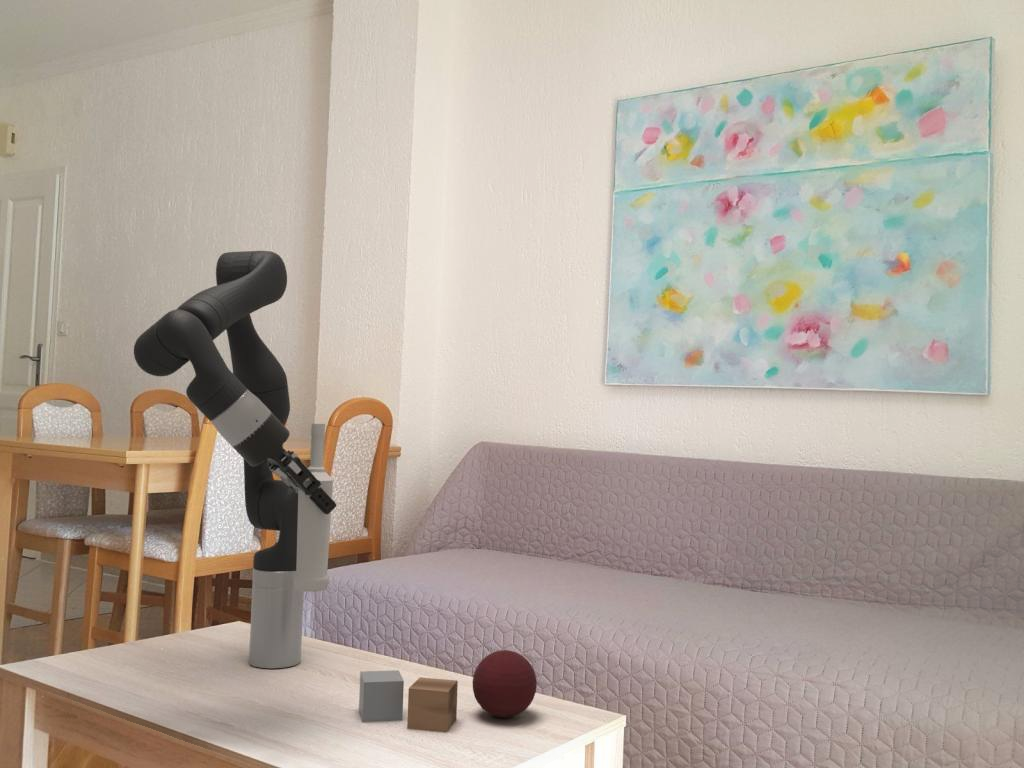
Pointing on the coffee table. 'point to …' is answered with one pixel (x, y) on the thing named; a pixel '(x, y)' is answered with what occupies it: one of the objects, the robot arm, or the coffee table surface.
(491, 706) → the decorative ball
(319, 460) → the bottle
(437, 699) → the walnut cube
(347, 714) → the coffee table surface
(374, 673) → the slate grey cube
